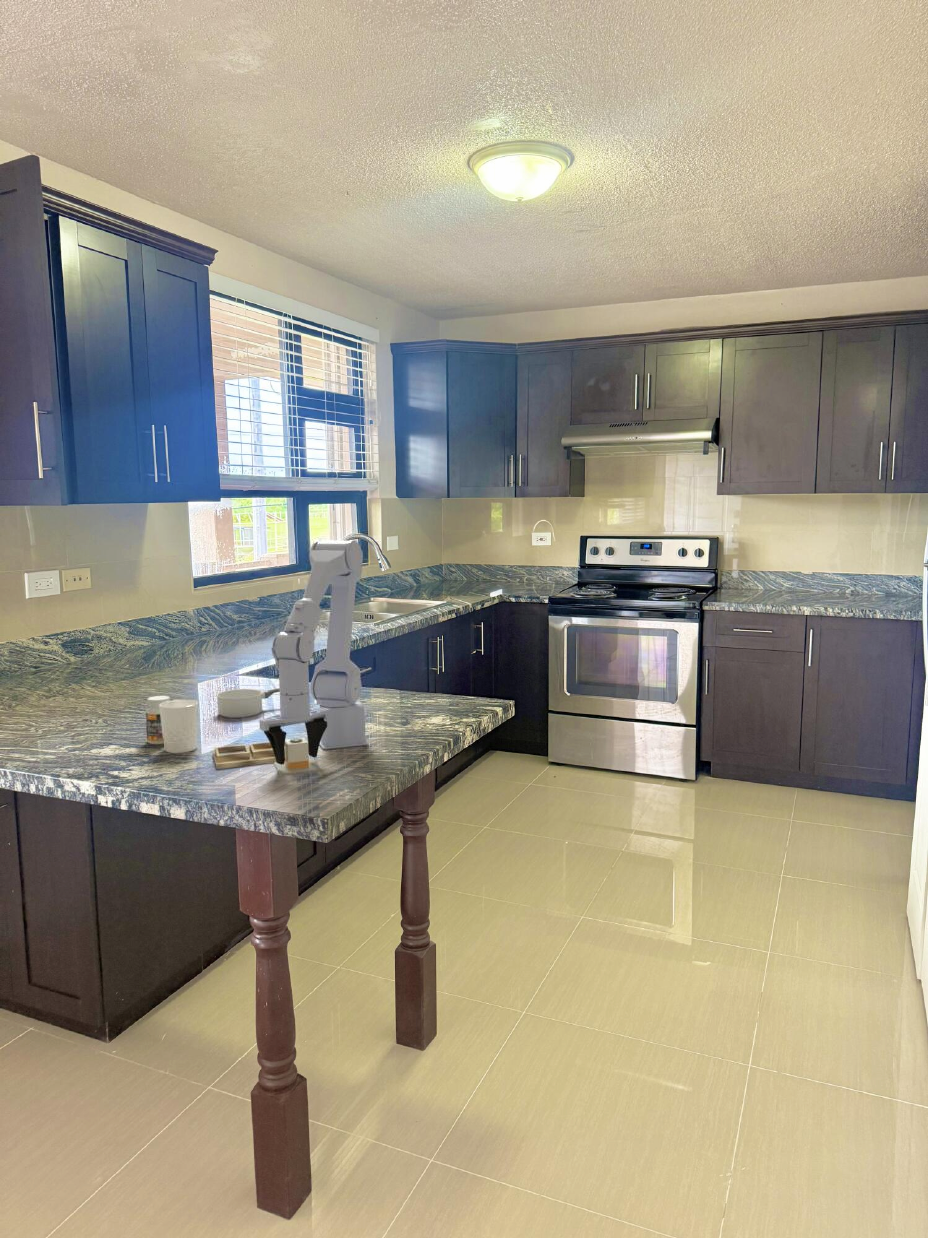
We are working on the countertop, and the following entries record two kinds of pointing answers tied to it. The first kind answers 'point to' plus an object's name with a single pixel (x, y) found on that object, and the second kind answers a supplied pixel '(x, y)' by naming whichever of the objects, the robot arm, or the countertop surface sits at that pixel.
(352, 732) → the robot arm
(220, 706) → the saucepan
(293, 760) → the cube with grey knob
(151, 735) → the pill bottle
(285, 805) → the countertop surface
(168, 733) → the white cup
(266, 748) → the socket block
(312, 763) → the mat
